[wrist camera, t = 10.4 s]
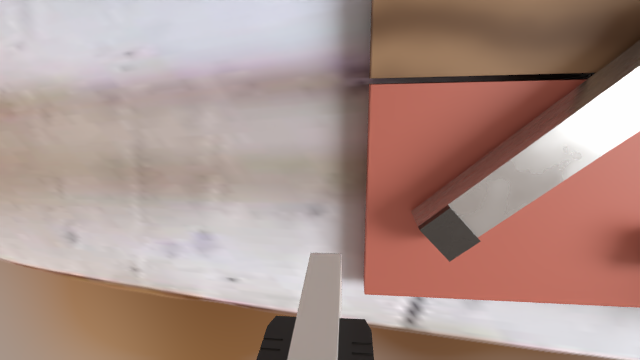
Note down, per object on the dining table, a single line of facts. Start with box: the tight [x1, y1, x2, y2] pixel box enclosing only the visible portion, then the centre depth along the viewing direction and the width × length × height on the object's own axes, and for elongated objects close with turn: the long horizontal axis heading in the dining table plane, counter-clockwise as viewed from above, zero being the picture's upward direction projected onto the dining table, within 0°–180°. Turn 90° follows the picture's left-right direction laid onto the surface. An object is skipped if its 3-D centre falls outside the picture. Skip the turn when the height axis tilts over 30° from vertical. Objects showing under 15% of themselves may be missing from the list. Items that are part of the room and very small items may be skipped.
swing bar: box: [411, 40, 640, 262], centre depth 22 cm, size 26×5×4 cm, turn 134°
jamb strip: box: [369, 0, 640, 78], centre depth 23 cm, size 7×30×3 cm, turn 91°
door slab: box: [364, 79, 640, 307], centre depth 26 cm, size 22×30×6 cm
